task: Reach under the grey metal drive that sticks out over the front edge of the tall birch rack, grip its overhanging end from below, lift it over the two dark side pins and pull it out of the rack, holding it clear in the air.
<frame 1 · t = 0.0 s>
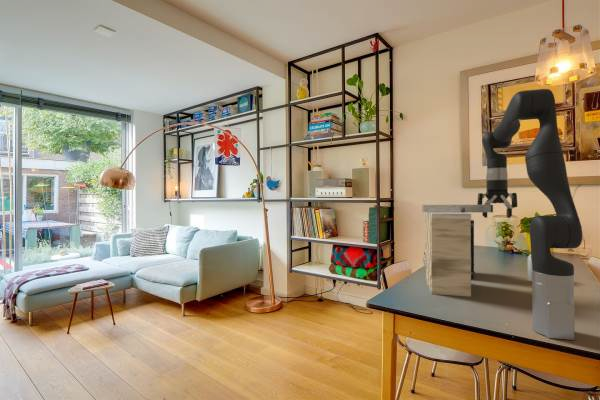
hand: (497, 217, 132), 29 cm above the table, tool pointing down, fingers open, 8 cm apart
drive: (456, 212, 131), point 32 cm above the table, touching stand
graphics card box: (456, 274, 154), on the table
stand: (446, 287, 132), on the table
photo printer: (536, 280, 142), on the table
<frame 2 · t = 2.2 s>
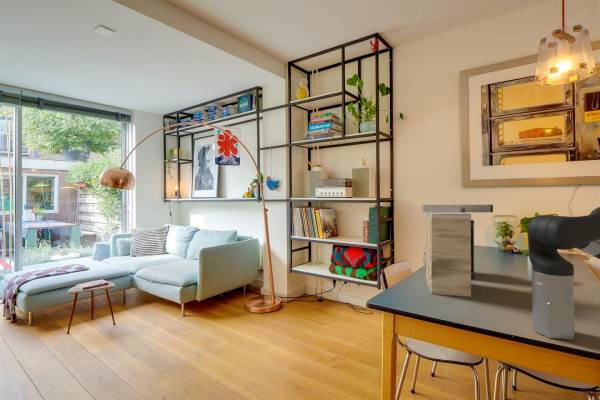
hand: (542, 219, 123), 29 cm above the table, tool pointing upward, fingers open, 8 cm apart
nothing on the table moved.
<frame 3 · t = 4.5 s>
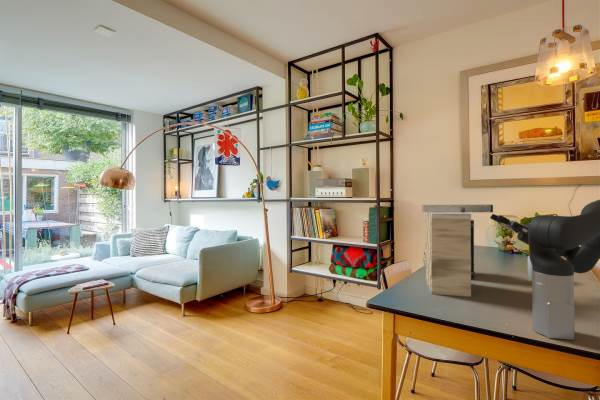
hand: (494, 216, 127), 30 cm above the table, tool pointing upward, fingers open, 8 cm apart
nothing on the table moved.
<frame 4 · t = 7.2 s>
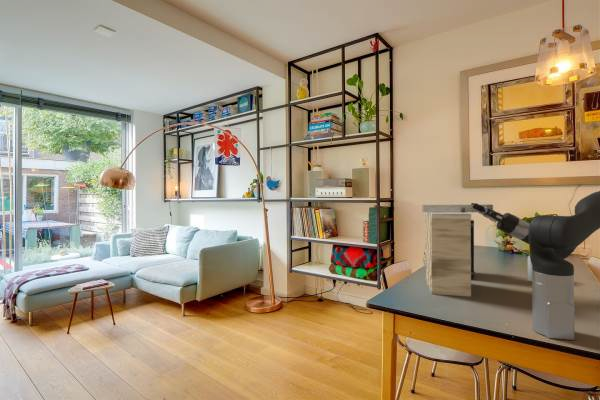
hand: (472, 205, 129), 35 cm above the table, tool pointing upward, fingers closed on drive, 4 cm apart
drive: (456, 212, 131), point 32 cm above the table, touching gripper, stand
everything else where it was.
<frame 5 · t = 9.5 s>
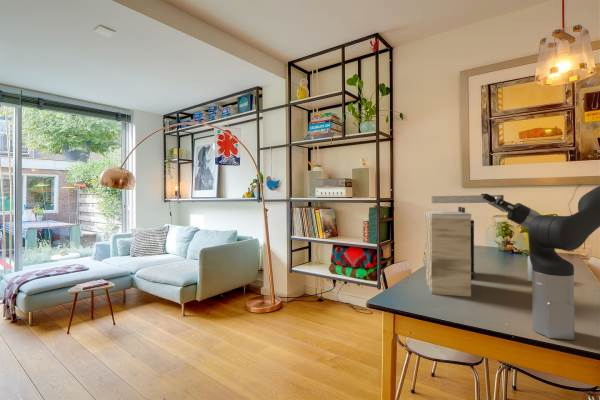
hand: (482, 195, 128), 39 cm above the table, tool pointing upward, fingers closed on drive, 4 cm apart
drive: (466, 202, 130), point 36 cm above the table, touching gripper
everything else where it was.
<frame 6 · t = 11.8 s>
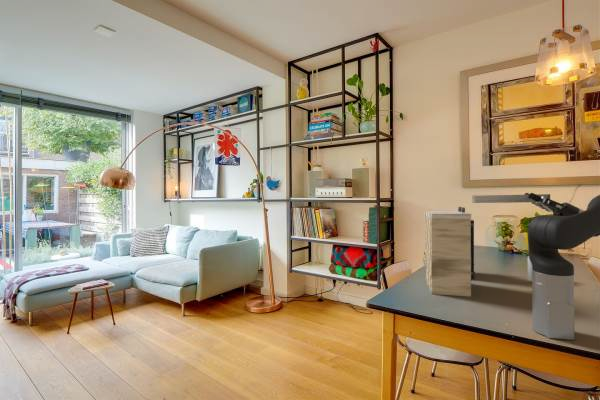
hand: (527, 194, 124), 39 cm above the table, tool pointing upward, fingers closed on drive, 4 cm apart
drive: (509, 202, 126), point 36 cm above the table, touching gripper
everything else where it was.
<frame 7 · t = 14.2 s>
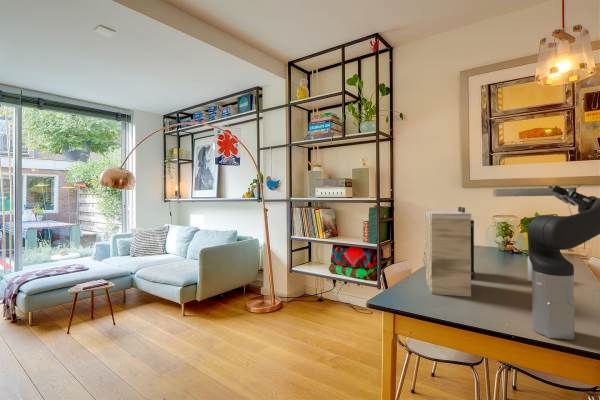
hand: (551, 188, 119), 41 cm above the table, tool pointing upward, fingers closed on drive, 4 cm apart
drive: (532, 196, 121), point 38 cm above the table, touching gripper
everything else where it was.
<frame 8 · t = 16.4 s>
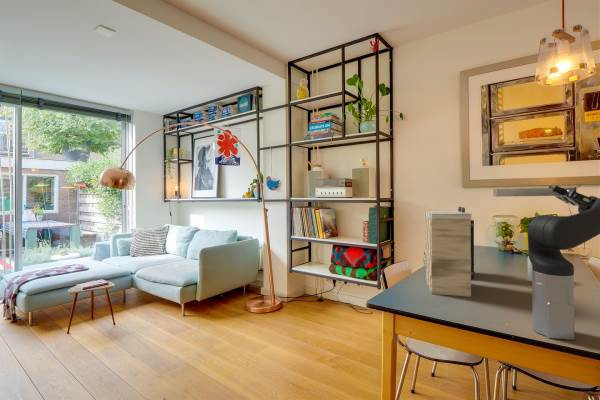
hand: (551, 188, 119), 41 cm above the table, tool pointing upward, fingers closed on drive, 4 cm apart
drive: (533, 196, 121), point 38 cm above the table, touching gripper
everything else where it was.
at the end: the gripper is holding drive; drive touching gripper; drive moved 27.4 cm from its start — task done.
